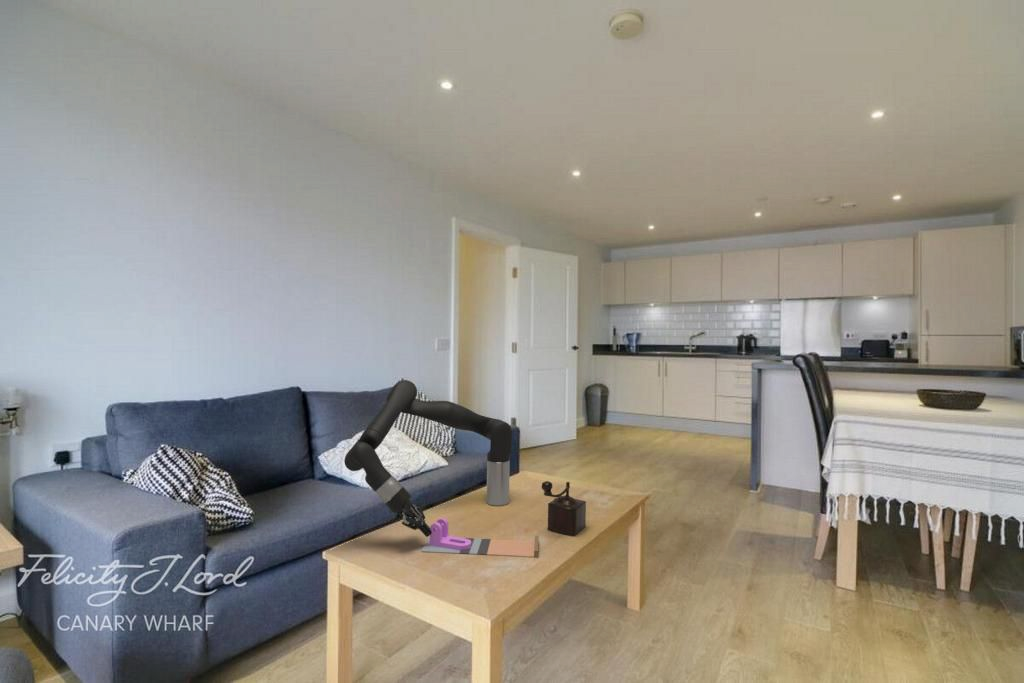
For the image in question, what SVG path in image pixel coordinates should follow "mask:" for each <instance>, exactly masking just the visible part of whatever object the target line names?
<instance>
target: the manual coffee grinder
mask: <svg viewBox="0 0 1024 683" xmlns="http://www.w3.org/2000/svg"><path fill="white" fill-rule="evenodd" d="M570 484H571V483H570V482H569V481H566V483H565V488H564V489H563V490H562V491H561V492H560V493H558V494H554V493H553V492H552V489H553V483H552V482H551V481H548V480H545V481H543V482H542V483H541V489H542V491H543V496H545V497H551V498H554V499H553V500H552V501H550V502H549V503H547V530H548V531H550V532H553V533H557V534H560V535H564V536H569V537H575V536H577V535H578V534H580V533H581V532H582V531H583V530H584V529H585V528H586V525H587V524H586V518H587V516H586V515H587V514H586V513H587V511H586V508H587V501H586V500H581V499H578V498H574V497H573V496H570V487H571V486H570Z"/></svg>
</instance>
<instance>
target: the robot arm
mask: <svg viewBox="0 0 1024 683" xmlns="http://www.w3.org/2000/svg"><path fill="white" fill-rule="evenodd" d="M417 395H418V388H417V386H416V384H415V383H413V382H412V381H411V380H409V379H408V380H407V379H402V380H401V379H400V380H399V381H397V382H396V383H395V384H394V385H393V386H392V388H391V389H390V391H389V392H388V394H387V396H386V399H385V400H386V403H385V404H384V405H383V407H382V408H381V409H380V410H379V412H378V413H377V414H376V415H375V416H374V417H373V419H372V420H371V422H369V424H368V425H367V427H366V428H365V429H364V431H363V432H362V434H361V435H360V437H359V439H358V440H357V441H356V442H355V444H353V446H352V447H351V448H350V449H349V451H348V452H347V453H346V454H345V456H344V465H345V467H346V468H347V469H348V470H349V471H351V472H357V471H360V470H362V469H363V471H364V473H365V478H364V481H365V482H366V484H367V485H368V486H369V487H370V488H371V489H372V490H373V492H375V494H376V496H377V497H378V498H379V500H380V501H382V503H383V504H384V505H385V506H386V507H387V509H389V511H391V512H392V514H396V513H397V512H398V514H399V516H400V517H401V518H402V519H403V520H402V521H401V524H402V525H403V526H405V527H407V528H409V529H411V530H414V531H416V530H420V531H421V533H422V534H423V535H424V536H425V537H427V538H429V537H430V534H431V533H432V532H431V530H430V526H429V525H428V524H427V523H426V520H425V519H426V515H425V513H424V512H423V509H422V506H421V505H420V503H417V504H415V503H414V502H413V501H412V500H411V498H412V494H411V493H410V492H409V491H408V490H407V489H406V488H405V487H404V486H403V485H402V484H401V482H399V481H398V479H397V478H395V477H394V476H393V475H392V474H391V473H390V472H389V471H388V470H387V469H386V467H385V466H384V464H383V463H382V461H381V459H380V457H379V456H378V454H377V452H376V449H378V447H380V445H381V444H382V443H383V442H384V440H385V438H386V436H387V435H388V434H389V432H390V431H391V429H392V428H393V425H394V424H395V422H396V421H397V419H398V417H399V416H400V414H401V413H402V414H407V415H412V416H416V417H419V418H423V419H427V420H429V421H433V422H435V423H438V424H441V425H444V426H446V427H450V428H452V429H456V430H461V431H469V432H472V433H475V434H478V435H480V436H482V437H484V438H486V439H487V440H489V441H490V445H489V446H490V447H489V448H490V449H489V451H488V452H487V454H486V504H488V505H491V506H497V507H498V506H505V505H508V504H509V503H510V469H511V468H510V466H511V465H510V464H511V463H510V459H511V454H512V450H513V449H512V448H513V429H512V427H511V425H510V424H509V423H508V422H506V421H504V420H502V419H499V418H493V417H489V416H484V415H482V414H478V413H476V412H474V411H473V410H472V409H469V408H467V407H464V406H463V405H460V404H457V403H454V402H453V401H449V400H430V401H429V400H422V399H418V398H417Z"/></svg>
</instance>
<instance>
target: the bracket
mask: <svg viewBox="0 0 1024 683" xmlns="http://www.w3.org/2000/svg"><path fill="white" fill-rule="evenodd" d="M429 527H430V530H431V532H432V533H431V534H430V535H429V537H430V545H433V546H439V547H444V548H449V549H455V550H468V549H470V548H471V540H469V539H465V538H466V537H459V536H452V535H450V534H449V521H448V520H447V519H446V518H445V517H440V518H438V520H437V521H436V522H434V523H432V524H431V525H430V526H429Z"/></svg>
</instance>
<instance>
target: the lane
mask: <svg viewBox="0 0 1024 683" xmlns="http://www.w3.org/2000/svg"><path fill="white" fill-rule="evenodd" d="M464 538H465V539H469V540H471V548H470V549H468V550H455V549H449V548H444V547H439V546H433V545H430V536H428V539H427V540H426V542H425V543H424V544H423V547H422V549H421V550H420V553H433V554H434V553H435V554H437V553H439V554H453V555H455V554H456V555H478V556H479V555H481V556H498V557H499V556H500V557H501V556H502V557H519V558H520V557H521V558H525V557H526V558H539V545H540V544H539V542H540V541H539V540H540V538H539V535H535V536H534V540H519V539H515V540H514V539H495V538H476V537H475V538H474V537H472V538H471V537H464Z"/></svg>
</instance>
